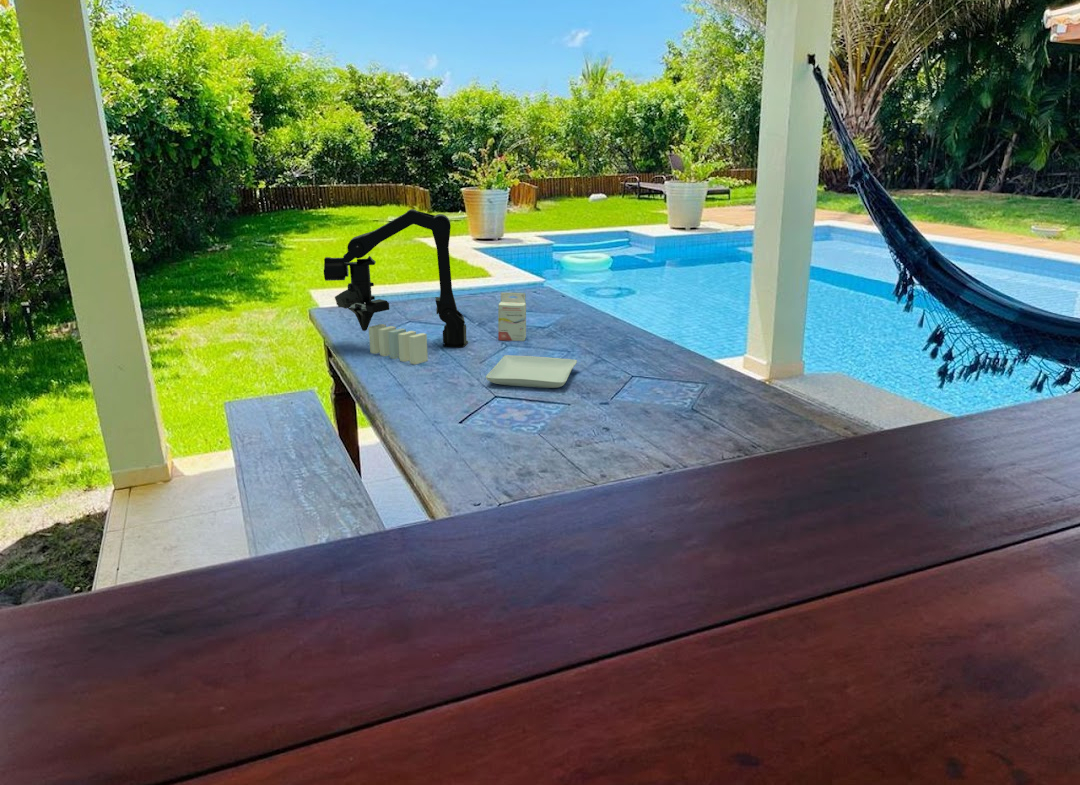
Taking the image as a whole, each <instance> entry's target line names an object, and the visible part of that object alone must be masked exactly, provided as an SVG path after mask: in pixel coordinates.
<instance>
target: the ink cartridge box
mask: <svg viewBox="0 0 1080 785" xmlns="http://www.w3.org/2000/svg"><path fill="white" fill-rule="evenodd" d="M512 297H515V298H512ZM497 307H498V308H497V310H498V311H497V313H498V314H497V315H498V317H497V322H498V324H497V326H498V327H497V328H498V331H497V332H498V333H497V334H498V336H497V337H498V341H508V342H513V341H514V342H525V341H526V337H527V303H526V293H525V292H503V291H502V292H501V293H500V301H499V303H498V306H497Z"/></svg>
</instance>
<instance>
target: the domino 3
mask: <svg viewBox="0 0 1080 785" xmlns="http://www.w3.org/2000/svg"><path fill="white" fill-rule="evenodd" d="M404 332H407V329H406V328H396V330H393V331H388V335H389V350H390V355H389V359H392V360H397V359H400V356H399V339H398V334H400V333H404Z"/></svg>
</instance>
